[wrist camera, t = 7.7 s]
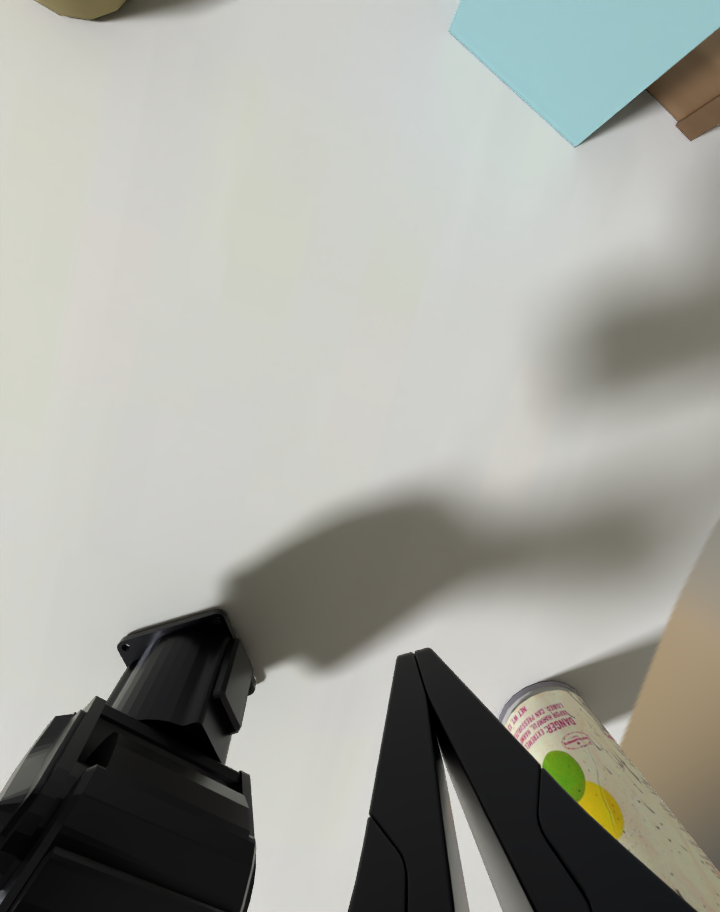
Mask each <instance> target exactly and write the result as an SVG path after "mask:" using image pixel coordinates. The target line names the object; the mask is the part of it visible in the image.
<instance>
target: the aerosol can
mask: <svg viewBox="0 0 720 912" xmlns="http://www.w3.org/2000/svg"><path fill="white" fill-rule="evenodd" d="M499 721H500V722H501V723H502V724H503V725H504V726H505V727H506V728H507V729H508V730H509V732H510V733H511V734H512V735H513V736H514V737H515V738H516V739H517V740H518V741H519V742H520V743H521V744H522V745H523V746H524V747H525V748H526V750H527V751H528V752H529V753H530V754H531V755H532V756H533V757H534V758H535V759H536V760H537V761H538V762H539V763H540V765H541V768H544V769H546V770H547V772H548V773H549V774H550V775H551V776H552V777H553V778H554V779H555V780H556V781H557V782H558V783H559V784H560V785H561V786H562V787H563V788H564V789H565V790H566V791H567V792H568V793H569V794H570V795H571V796H572V797H573V798H574V799H575V800H576V802H577V803H578V804H579V805H580V806H581V807H582V808H583V809H584V810H585V811H586V812H587V813H588V814H590V815H591V816H592V817H593V818H594V819H595V820H596V821H597V822H598V823H599V824H600V825H601V826H603V827H604V828H605V829H606V830H607V831H608V832H609V833H610V834H611V835H612V836H613V837H614V838H616V839H617V840H618V841H619V842H620V843H621V844H622V845H623V846H624V847H625V848H627V849H628V850H629V851H630V852H631V853H632V854H633V855H634V856H636V857H637V858H638V859H639V860H640V861H641V862H642V863H644V864H645V865H646V866H647V867H648V868H649V869H650V870H651V871H653V872H654V873H655V874H656V875H657V876H658V877H659V878H660V879H662V880H663V881H664V882H665V883H666V884H667V885H668V886H669V887H671V888H672V889H673V890H674V891H675V892H676V893H677V894H678V895H680V896H681V897H682V898H683V899H684V900H685V901H686V902H687V903H689V904H690V905H691V906H692V907H693V908H694V909H695V910H696V911H698V912H720V873H719V872H718V870H717V869H716V868H715V866H714V865H713V864H712V863H711V861H710V860H709V859H708V858H707V856H706V855H705V854H704V852H703V851H702V850H701V849H700V847H699V846H698V845H697V844H696V842H695V841H694V840H693V839H692V837H691V836H690V835H689V834H688V832H687V831H686V830H685V828H684V827H683V826H682V825H681V823H680V822H679V821H678V820H677V819H676V817H675V816H674V815H673V813H672V812H671V811H670V810H669V808H668V807H667V806H666V804H665V803H664V802H663V801H662V800H661V798H660V797H659V796H658V794H657V793H656V792H655V791H654V789H653V788H652V787H651V786H650V784H649V783H648V782H647V781H646V779H645V778H644V777H643V775H642V774H641V773H640V772H639V770H638V769H637V768H636V767H635V765H634V764H633V763H632V762H631V760H630V759H629V758H628V757H627V755H626V754H625V753H624V751H623V750H622V749H621V748H620V746H619V745H618V744H617V743H616V741H615V740H614V739H613V738H612V736H611V735H610V734H609V732H608V731H607V730H606V729H605V727H604V726H603V725H602V724H601V722H600V721H599V720H598V719H597V717H596V716H595V715H594V714H593V712H592V711H591V710H590V709H589V707H588V706H587V705H586V703H585V702H584V701H583V700H582V698H581V697H580V696H579V695H578V693H577V692H576V691H575V690H574V688H572V687H570V686H568V685H567V684H565V683H561V682H555V681H547V682H539V683H536V684H534V685H531V686H528V687H526V688H524V689H523V690H521V691H520V692H518V693H517V694H515V695H514V696H513V697H512V698H511V699H510V700H509V702H508V703H507V704H506V705H505V706H504V708H503V710H502V712H501V715H500V717H499Z"/></svg>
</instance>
